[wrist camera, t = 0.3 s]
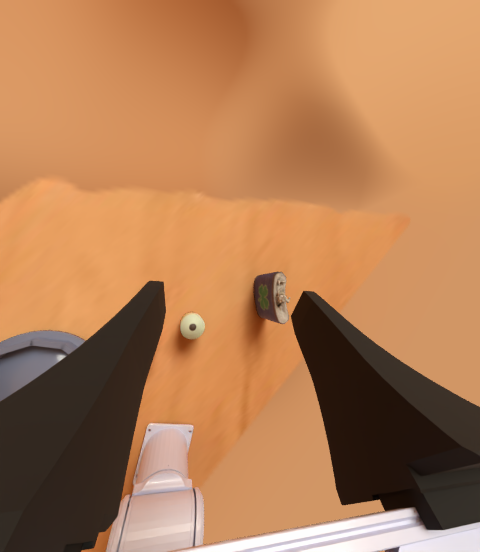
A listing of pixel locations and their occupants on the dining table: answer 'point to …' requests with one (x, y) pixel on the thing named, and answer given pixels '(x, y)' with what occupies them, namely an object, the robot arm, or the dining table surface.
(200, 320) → the sage bead
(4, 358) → the round tray
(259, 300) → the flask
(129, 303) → the robot arm
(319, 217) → the dining table surface
